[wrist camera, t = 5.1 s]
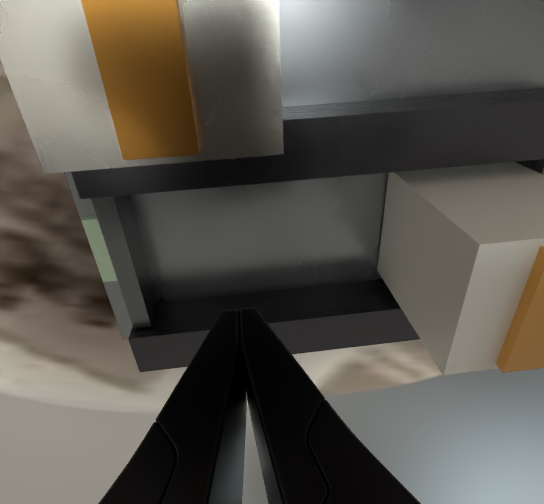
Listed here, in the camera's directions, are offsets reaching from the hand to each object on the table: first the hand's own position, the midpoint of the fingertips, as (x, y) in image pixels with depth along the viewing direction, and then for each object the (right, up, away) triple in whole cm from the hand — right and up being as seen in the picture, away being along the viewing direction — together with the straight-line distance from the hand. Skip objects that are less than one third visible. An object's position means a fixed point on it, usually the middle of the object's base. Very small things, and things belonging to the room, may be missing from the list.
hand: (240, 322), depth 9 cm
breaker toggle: (+7, +3, +4) cm, 8 cm away
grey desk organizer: (+2, +4, +4) cm, 7 cm away
